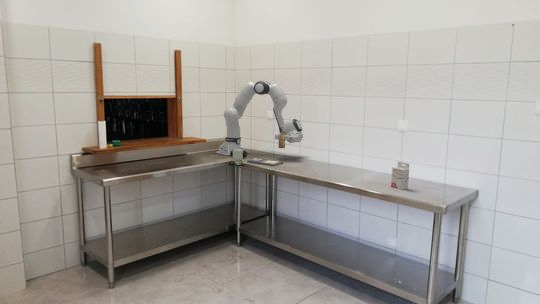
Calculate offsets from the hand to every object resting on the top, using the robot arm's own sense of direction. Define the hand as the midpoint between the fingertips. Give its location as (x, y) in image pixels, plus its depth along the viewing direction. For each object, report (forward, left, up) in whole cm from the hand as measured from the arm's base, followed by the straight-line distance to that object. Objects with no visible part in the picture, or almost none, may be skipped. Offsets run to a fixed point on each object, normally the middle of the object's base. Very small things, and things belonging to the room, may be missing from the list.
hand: (281, 138), depth 309 cm
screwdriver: (0, +1, -7) cm, 7 cm away
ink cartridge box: (+99, -21, -18) cm, 103 cm away
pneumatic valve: (-16, -30, -18) cm, 38 cm away
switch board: (-6, -12, -18) cm, 22 cm away
